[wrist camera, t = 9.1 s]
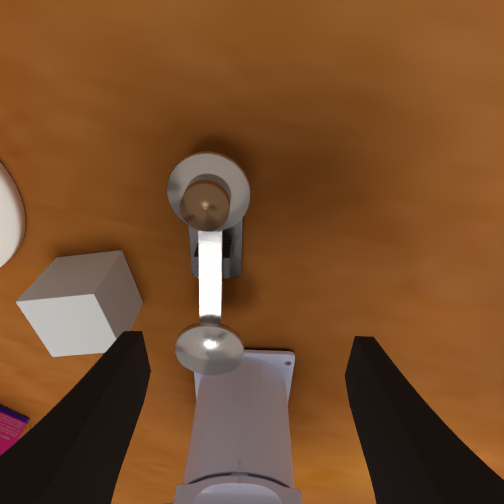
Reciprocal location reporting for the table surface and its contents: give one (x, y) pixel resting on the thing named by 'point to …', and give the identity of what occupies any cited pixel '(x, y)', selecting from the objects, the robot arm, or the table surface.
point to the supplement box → (10, 428)
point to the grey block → (82, 303)
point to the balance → (211, 253)
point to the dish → (10, 217)
